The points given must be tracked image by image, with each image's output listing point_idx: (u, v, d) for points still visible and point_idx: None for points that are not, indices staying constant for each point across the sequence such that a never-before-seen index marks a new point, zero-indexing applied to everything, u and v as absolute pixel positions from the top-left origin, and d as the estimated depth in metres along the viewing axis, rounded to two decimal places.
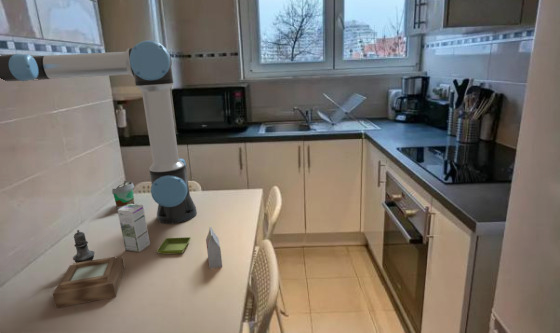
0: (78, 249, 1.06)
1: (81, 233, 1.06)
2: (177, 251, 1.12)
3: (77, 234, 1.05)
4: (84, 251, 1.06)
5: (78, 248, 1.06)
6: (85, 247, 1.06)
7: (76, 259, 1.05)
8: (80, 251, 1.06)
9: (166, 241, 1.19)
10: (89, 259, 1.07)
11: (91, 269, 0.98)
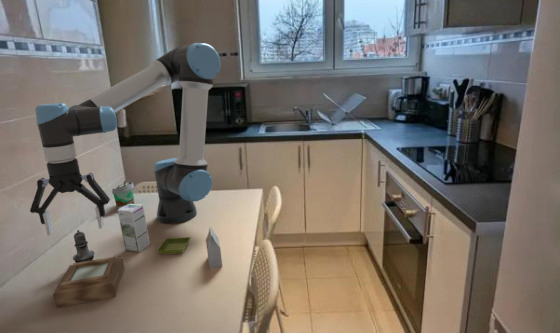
0: (78, 249, 1.06)
1: (81, 233, 1.06)
2: (177, 251, 1.12)
3: (77, 234, 1.05)
4: (84, 251, 1.06)
5: (78, 248, 1.06)
6: (85, 247, 1.06)
7: (76, 259, 1.05)
8: (80, 251, 1.06)
9: (166, 241, 1.19)
10: (89, 259, 1.07)
11: (91, 269, 0.98)
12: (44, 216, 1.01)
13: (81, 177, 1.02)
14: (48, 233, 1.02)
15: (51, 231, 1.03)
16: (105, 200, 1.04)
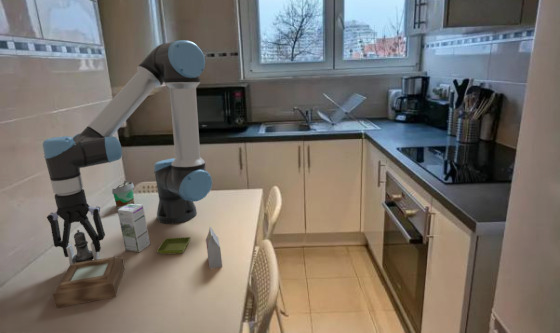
0: (78, 249, 1.06)
1: (81, 233, 1.06)
2: (177, 251, 1.12)
3: (77, 234, 1.05)
4: (84, 251, 1.06)
5: (78, 248, 1.06)
6: (85, 247, 1.06)
7: (76, 259, 1.05)
8: (80, 251, 1.06)
9: (166, 241, 1.19)
10: (89, 259, 1.07)
11: (91, 269, 0.98)
12: (67, 250, 1.05)
13: (88, 209, 1.04)
14: None
15: None
16: (101, 236, 1.06)
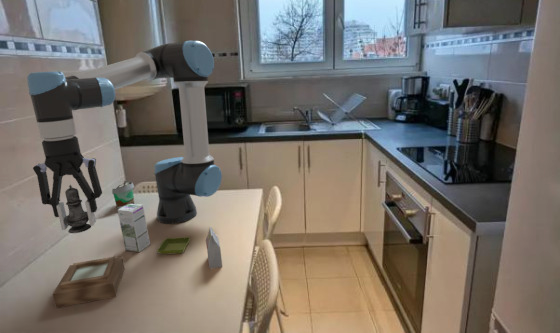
0: (70, 208, 0.90)
1: (74, 189, 0.90)
2: (177, 251, 1.12)
3: (69, 190, 0.89)
4: (77, 210, 0.90)
5: (70, 206, 0.90)
6: (79, 206, 0.91)
7: (68, 219, 0.90)
8: (72, 211, 0.90)
9: (166, 241, 1.19)
10: (83, 220, 0.91)
11: (91, 269, 0.98)
12: (58, 208, 0.89)
13: (83, 159, 0.88)
14: (63, 227, 0.91)
15: (66, 225, 0.92)
16: (97, 193, 0.91)
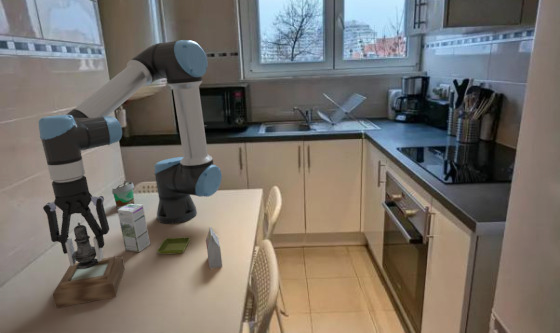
0: (78, 245, 0.93)
1: (82, 226, 0.93)
2: (178, 251, 1.12)
3: (78, 227, 0.92)
4: (85, 247, 0.93)
5: (79, 243, 0.92)
6: (87, 242, 0.93)
7: (76, 256, 0.92)
8: (80, 247, 0.93)
9: (166, 241, 1.19)
10: (91, 256, 0.94)
11: (91, 269, 0.98)
12: (67, 245, 0.92)
13: (91, 198, 0.91)
14: (71, 263, 0.93)
15: (74, 261, 0.94)
16: (105, 230, 0.93)
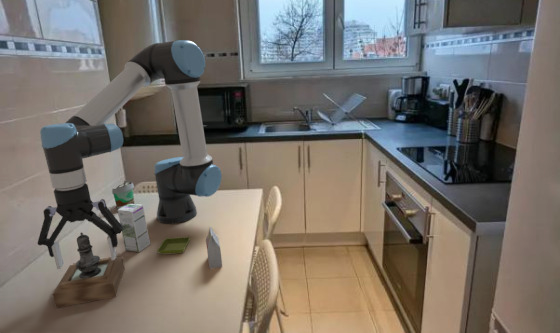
0: (81, 254, 0.93)
1: (85, 236, 0.93)
2: (178, 251, 1.12)
3: (80, 237, 0.93)
4: (88, 257, 0.94)
5: (81, 253, 0.93)
6: (89, 252, 0.94)
7: (79, 266, 0.93)
8: (83, 257, 0.94)
9: (165, 241, 1.19)
10: (94, 265, 0.94)
11: None
12: (53, 248, 0.91)
13: (92, 204, 0.92)
14: (58, 267, 0.93)
15: (61, 264, 0.94)
16: (118, 229, 0.94)
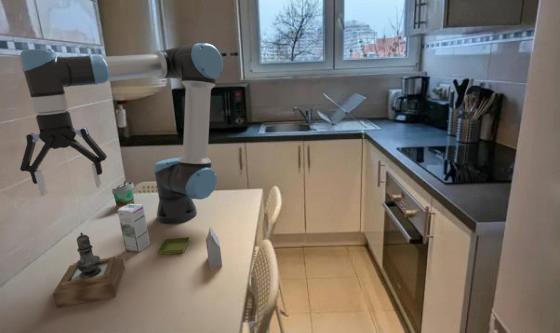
0: (81, 254, 0.93)
1: (85, 236, 0.93)
2: (178, 251, 1.12)
3: (80, 237, 0.93)
4: (88, 257, 0.94)
5: (81, 253, 0.93)
6: (89, 252, 0.94)
7: (79, 266, 0.93)
8: (83, 257, 0.94)
9: (165, 241, 1.19)
10: (94, 265, 0.94)
11: None
12: (36, 175, 0.93)
13: (74, 131, 0.94)
14: (41, 193, 0.95)
15: (44, 191, 0.96)
16: (102, 156, 0.97)
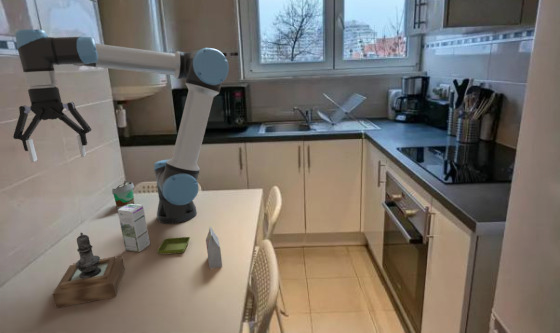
0: (81, 254, 0.93)
1: (85, 236, 0.93)
2: (178, 250, 1.12)
3: (80, 237, 0.93)
4: (88, 257, 0.94)
5: (81, 253, 0.93)
6: (89, 252, 0.94)
7: (79, 266, 0.93)
8: (83, 257, 0.94)
9: (165, 241, 1.19)
10: (94, 265, 0.94)
11: None
12: (27, 143, 1.04)
13: (62, 105, 1.05)
14: (31, 160, 1.06)
15: (35, 159, 1.07)
16: (86, 128, 1.07)
